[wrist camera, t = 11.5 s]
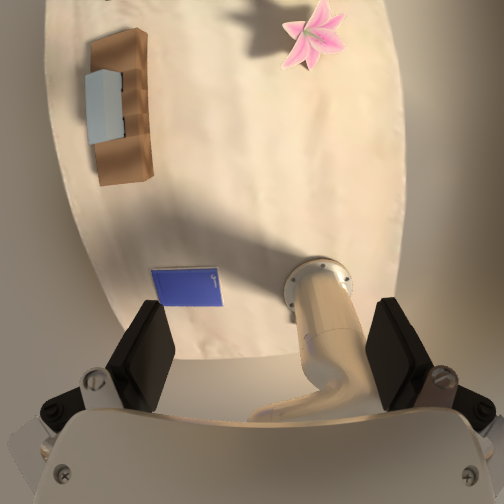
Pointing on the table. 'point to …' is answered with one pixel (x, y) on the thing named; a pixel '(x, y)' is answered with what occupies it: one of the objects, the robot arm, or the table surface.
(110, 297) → the table surface
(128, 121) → the brown block with holes
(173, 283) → the hard drive
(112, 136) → the light blue arch block
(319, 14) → the lily
